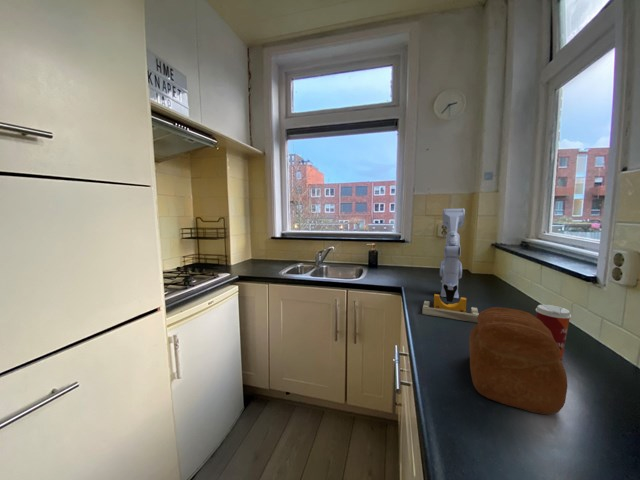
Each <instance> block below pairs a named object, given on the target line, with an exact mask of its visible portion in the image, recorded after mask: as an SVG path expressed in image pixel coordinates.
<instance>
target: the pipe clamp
mask: <svg viewBox="0 0 640 480" xmlns="http://www.w3.org/2000/svg"><path fill="white" fill-rule="evenodd" d="M433 308H437V309H444V310H450V311H457V312H464V313H467V312H466V311H467V297H462V296H461V297H460V298H459V301H458V302H455V303H448V304H446V303H445V302H444V301H442V299H441V296H440V294H436V293H434V296H433Z"/></svg>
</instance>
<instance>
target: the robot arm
mask: <svg viewBox="0 0 640 480" xmlns="http://www.w3.org/2000/svg"><path fill="white" fill-rule="evenodd" d="M465 215H466V209H465V208H464V207H462V208H443V209H442V225H443V227H445V228H446V229H447V230H446V231H447V232H446V234H445V244H444V248H443V257H444V259H443V260H441V261H440V266H439V276H440V277H441V278H442V279H441V280H440V283H441V290H440V297H442V298H444V297H445V298H446V301H447V302H449V303H453V301H454V299H460V297H459V296H460V295H459V280H460V279H462V278H463V277H462V276H463V264H462V262H461V261H460V258H461V251H462V250H461V249H462V248H461V244H460V243H461V242H460V238H461V235H460V234H459V233H458V231H459V228H460V227H463V226H464V222H465Z"/></svg>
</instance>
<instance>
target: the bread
mask: <svg viewBox="0 0 640 480" xmlns="http://www.w3.org/2000/svg"><path fill="white" fill-rule="evenodd" d="M478 313H479V315H478V316H477V320H478V323H476V324H475V325H474V326H473V327H472V328H471V330H470V332H469V339H468V345H469V368H470V375H471V381H472V384H473V387H474V389H475V390H476V391H477V392H478V393H479V394H480V395H481V396H483V397H485V398H486V399H489V400H492V401H495V402H497V403H499V404H503V405H505V406H510V407H514V408H517V409H520V410H523V411H527V412H531V413H536V414H542V415H553V414H557V413H559V412H560V411H561V410H562V409H563V407H564V405H565V404H566V400H567V398H566V397H567V393H568V376H567V373H566V369H565V367H564V365H563V362H562V361H561V360H560V359H559V356H560V348H559V347H558V345H557V343H556V342H555V340H554V338H553V336H552V333H551V331H550V330H549V329H548V328H547V327H546V326H545V325H544V324H543V323H542V322H541V320H539V319H538V318H537V316H535V315H534V314H531V313H530V312H527V311H524V310H520V309H516V308H515V309H514V308H508V307H500V306H497V307H496V306H495V307H494V306H493V307H489V308H486V309H484V310H482V311H480V312H478Z"/></svg>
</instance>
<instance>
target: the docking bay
mask: <svg viewBox="0 0 640 480" xmlns="http://www.w3.org/2000/svg"><path fill="white" fill-rule="evenodd" d="M470 308H471V309H470V313H468V312H466V313H464V312H457V311H450V310H444V309H437V308H434V307H430V301H429V300H424V302H423V305H422V311H421V312H422V313H421V314H422V315H426V316H432V317H439V318H446V319H452V320H458V321H465V322H470V323H476V324H478V320H477V316H478V315H479V313H480V312H479V310H478V307H474V306H472V307H470Z"/></svg>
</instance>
